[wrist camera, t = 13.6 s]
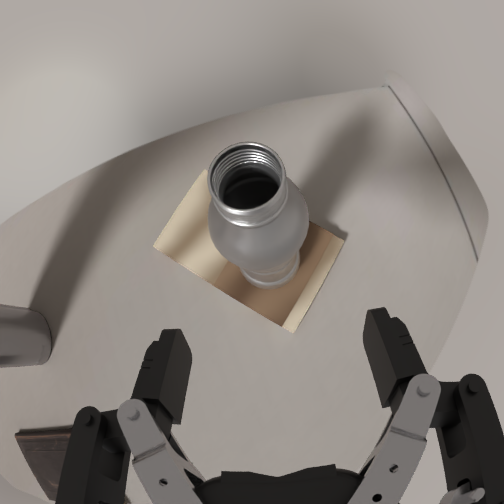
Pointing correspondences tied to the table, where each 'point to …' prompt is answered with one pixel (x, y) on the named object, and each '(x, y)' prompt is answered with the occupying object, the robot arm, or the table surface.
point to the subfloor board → (229, 275)
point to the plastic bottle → (256, 214)
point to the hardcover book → (45, 456)
